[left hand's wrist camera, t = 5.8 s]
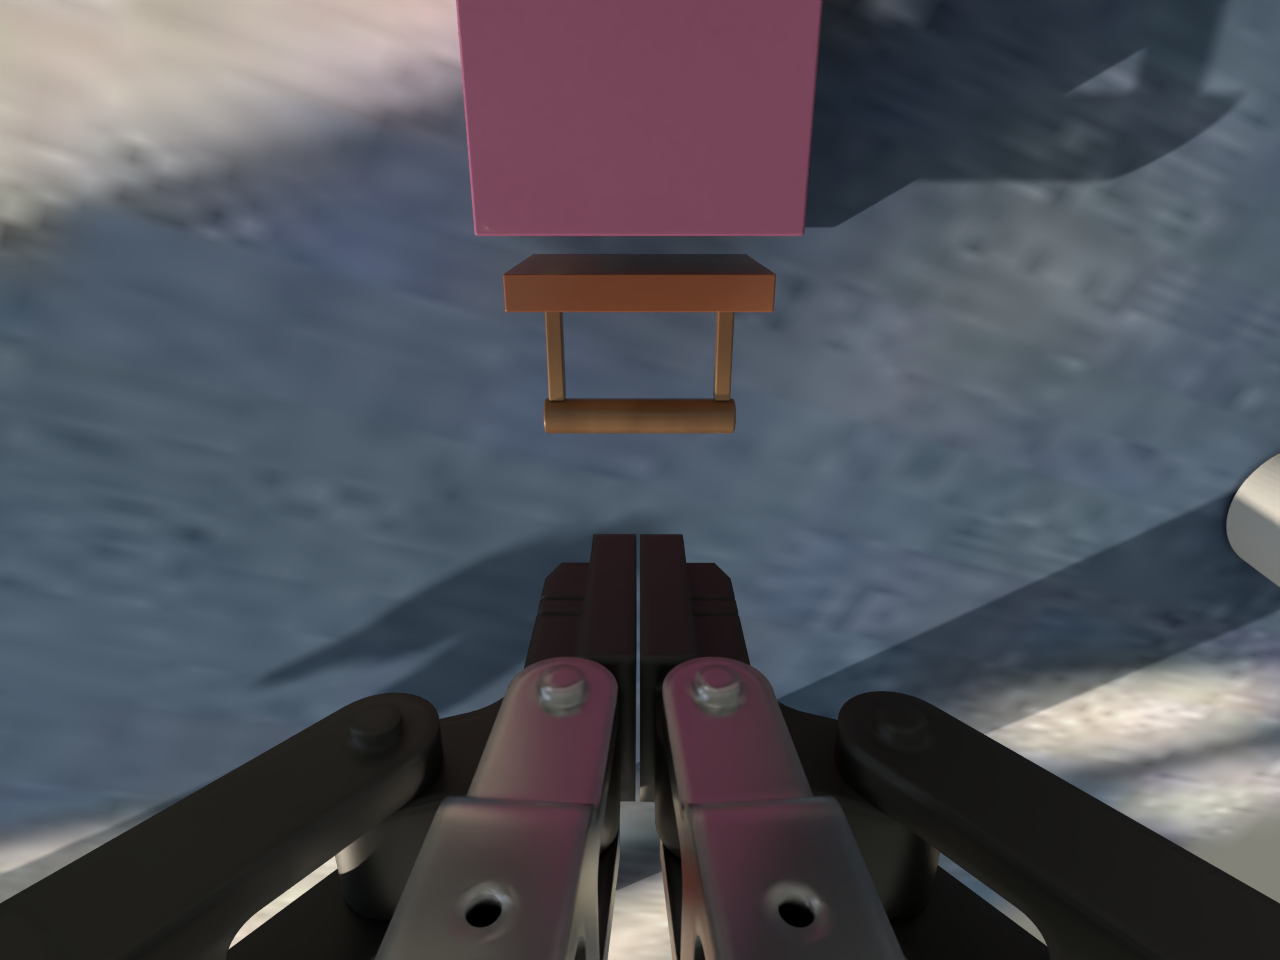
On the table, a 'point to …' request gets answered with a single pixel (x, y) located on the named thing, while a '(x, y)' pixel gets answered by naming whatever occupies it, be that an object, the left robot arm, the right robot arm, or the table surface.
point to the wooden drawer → (639, 289)
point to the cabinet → (639, 115)
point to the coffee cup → (1258, 520)
